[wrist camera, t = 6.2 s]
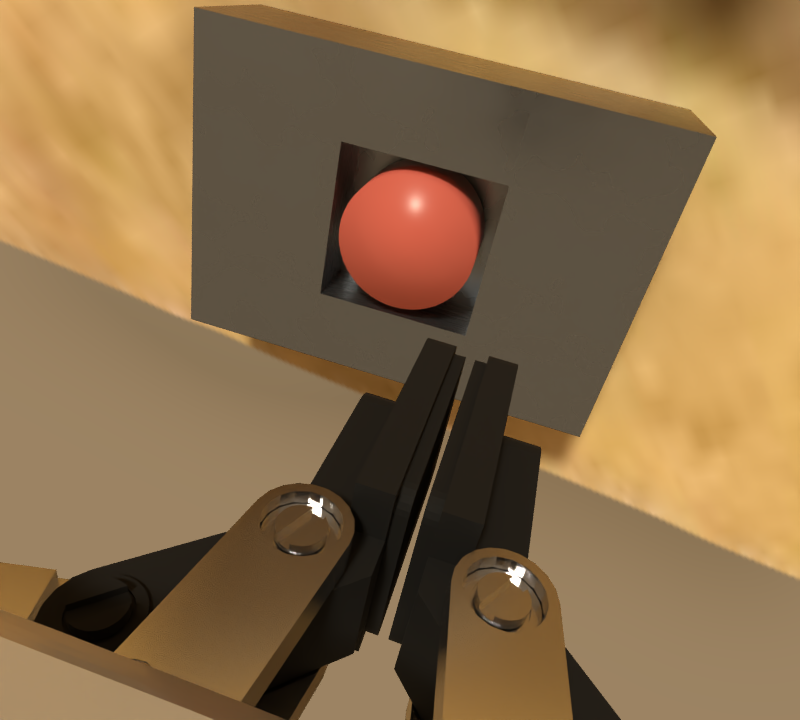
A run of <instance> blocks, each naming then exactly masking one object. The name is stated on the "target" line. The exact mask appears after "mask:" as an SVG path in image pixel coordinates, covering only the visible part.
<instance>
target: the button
mask: <svg viewBox="0 0 800 720" xmlns="http://www.w3.org/2000/svg"><path fill="white" fill-rule="evenodd" d="M484 230H485V218H484V212H483V207H482V204H481V201H480V199H479V197H478V195H477V193H476V191H475V189H474V188H473V186H472V185H471V184H470V183H469V181H468V180H467V179H466V178H465V177H464V176H463V175H462V174H460V173H458V172H455V171H451V170H447V169H443V168H440V167H436V166H432V165H428V164H424V163H421V162H417V161H413V160H409V159H405V160H400V161H398V162H395V163H392V164H391V165H389V166H387V167H385V168H384V169H383V170H381V171H380V172H379V173H378V174H376V175H375V176H374V177H373V178H372V179H371V180H370V181H369V182H368V183H367V184H366V185H364V186H363V187H362V188H361V189H360V190H359V191H358V192H357V193H356V194H355V195H354V196H353V197H352V199H351V200H350V201H349V203H348V205H347V206H346V208H345V210H344V213H343V215H342V218H341V222H340V227H339V246H340V251H341V255H342V258H343V261H344V264H345V266H346V268H347V270H348V272H349V273H350V275H351V277H352V278H353V279H354V281H355V282H356V283H357V284H358V285H359V286H360V287H361V288H362V289H363V290H364V291H365V292H366V293H367V294H369V295H370V296H371V297H373V298H375V299H376V300H378V301H380V302H382V303H384V304H387V305H389V306H392V307H396V308H400V309H409V310H416V309H425V308H429V307H433V306H436V305H438V304H441V303H443V302H445V301H446V300H448V299H450V298H451V297H452V296H453V295H455V294H456V293H457V292H458V291H459V290H460V289H461V288H462V287H463V285H464V284H465V282H466V281H467V279H468V277H469V275H470V274H471V271H472V268H473V266H474V263H475V260H476V258H477V255H478V252H479V250H480V247H481V244H482V241H483V237H484Z"/></svg>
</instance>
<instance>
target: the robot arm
mask: <svg viewBox="0 0 800 720" xmlns="http://www.w3.org/2000/svg"><path fill="white" fill-rule="evenodd" d="M456 349H457V346H455V345H451V344H448V343H444V342H441V341H438V340H434V339H431V338H427V340H426V342H425V344H424V346H423V348H422V350H421V352H420V354H419V356H418V358H417V360H416V362H415V364H414V366H413V368H412V370H411V372H410V374H409V376H408V378H407V380H406V382H405V384H404V386H403V388H402V390H401V392H400V394H399V396H398V398H397V400H396V402H395V401H392V400H389V399H385V398H382V397H379V396H376V395H373V394H369V393H365V394H364V395H363V396H362V397H361V399H360V401H359V403H358V404H357V406H356V408H355V409H354V411H353V413H352V414H351V416H350V418H349V419H348V421H347V423H346V425H345V426H344V428H343V430H342V432H341V433H340V435H339V436H338V438H337V440H336V442H335V443H334V445H333V447H332V448H331V450H330V452H329V453H328V455H327V457H326V459H325V460H324V462H323V464H322V465H321V467H320V469H319V471H318V472H317V474H316V476H315V477H314V479H313V481H312V482H311V484H301V483H296V484H289V485H283V486H280V487H278V488H275V489H273V490H270V491H268V492H267V493H266V494H264V495H263V496H262V497H260V498H259V499H258V500H257V501H256V502H255V503H254V504H253V505H252V506H251V507H250V508H249V509H248V510H247V511H246V513H245V514H244V515H243V516H242V517H241V518H240V519H239V520H238V521H237V522H236V523H235V524H234V525H233V526H232V527H231V528H230V530H229V531H228V532H224V533H221V534H217V535H213V536H210V537H207V538H203V539H199V540H196V541H192V542H189V543H185V544H181V545H178V546H174V547H171V548H167V549H164V550H160V551H157V552H153V553H149V554H146V555H142V556H139V557H135V558H132V559H128V560H124V561H121V562H118V563H114V564H110V565H107V566H103V567H100V568H96V569H92V570H90V571H87V572H85V573H82V574H80V575H78V576H75V577H73V578H71V579H62V578H58V576H57V571H56V570H53V569H46V568H39V567H31V566H23V565H16V564H9V563H1V562H0V720H298V719H299V718H300V716H301V714H302V713H303V711H304V709H305V707H306V706H307V704H308V702H309V701H310V699H311V697H312V696H313V694H314V692H315V691H316V689H317V687H318V685H319V684H320V682H321V680H322V679H323V676H324V674H325V671H326V669H327V666H328V664H330V663H332V662H334V661H337V660H339V659H341V658H344V657H346V656H349V655H351V654H353V653H354V650H356V651H359V648H360V646H361V643H362V640H363V637H364V634H365V632H366V631H367V632H370V633H373V634H375V635H378V634H379V631H380V628H381V626H382V623H383V620H384V617H385V614H386V610H387V608H388V605H389V602H390V599H391V596H392V593H393V591H394V587H395V585H396V582H397V579H398V576H399V573H400V570H401V567H402V564H403V561H404V559H405V556H406V553H407V550H408V547H409V544H410V541H411V538H412V535H413V532H414V529H415V527H416V524H417V521H418V518H419V515H420V512H421V509H422V506H423V503H424V500H425V497H426V494H427V491H428V489H429V486H430V483H431V479H432V476H433V473H434V470H435V466H436V463H437V459H438V456H439V452H440V448H441V445H442V442H443V438H444V434H445V431H446V427H447V424H448V420H449V417H450V413H451V410H452V406H453V402H454V399H455V395H456V392H457V388H458V385H459V381H460V377H461V374H462V370H463V367H464V363H465V359H466V357H464V356H460V355H457V354H455V353H456ZM517 370H518V364H515V363H512V362H508V361H505V360H502V359H498V358H495V357H492V356H489V358H488V361H487V363H484V362H480V361H477V360H475V362H474V365H473V368H472V371H471V374H470V377H469V380H468V383H467V386H466V389H465V392H464V395H463V398H462V401H461V404H460V407H459V410H458V413H457V416H456V419H455V421H454V424H453V427H452V430H451V433H450V436H449V439H448V442H447V445H446V448H445V451H444V454H443V457H442V460H441V463H440V466H439V469H438V472H437V475H436V478H435V481H434V484H433V487H432V490H431V493H430V496H429V499H428V503H427V506H426V509H425V512H424V516H423V519H422V522H421V526H420V529H419V533H418V537H417V540H416V543H415V547H414V550H413V554H412V558H411V562H410V565H409V568H408V572H407V575H406V579H405V582H404V586H403V589H402V593H401V596H400V600H399V603H398V607H397V611H396V614H395V618H394V621H393V625H392V628H391V632H390V636H389V640H392V641H395V642H397V643H400V644H402V645H401V648H400V651H399V655H398V658H397V661H396V664H395V668H394V669H395V671H396V673H397V675H398V677H399V679H400V681H401V682H402V684H403V686H404V688H405V690H406V692H407V694H408V696H409V697H410V699H409V702H408V706H407V710H406V718H405V720H621V719H620V718H619V717H618V715H617V714H616V713H615V712H614V710H613V709H612V708H611V706H610V705H609V704H608V702H607V701H606V700H605V698H604V697H603V696H602V694H601V693H600V692H599V691H598V689H597V688H596V687H595V685H594V684H593V683H592V681H591V680H590V679H589V677H588V676H587V675H586V674H585V672H584V671H583V670H582V668H581V667H580V666H579V664H578V663H577V662H576V661H575V659H574V658H573V657H572V655H571V654H570V653H569V651H568V650H567V649H566V648H565V643H564V634H563V625H562V616H561V608H560V602H559V599H558V595H557V592H556V589H555V587H554V586H553V584H552V582H551V581H550V579H549V577H548V576H547V575H546V574H545V573H544V572H543V571H542V570H541V569H540V568H539V567H538V566H537V565H536V564H535V563H533V562H532V561H530V560H529V559H528V553H529V545H530V537H531V529H532V521H533V513H534V505H535V497H536V488H537V481H538V472H539V465H540V457H541V448H540V447H538V446H535V445H532V444H529V443H526V442H523V441H519V440H516V439H513V438H510V437H507V436H503V435H504V430H505V426H506V421H507V416H508V412H509V407H510V403H511V398H512V393H513V389H514V384H515V379H516V375H517Z"/></svg>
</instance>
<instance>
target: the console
mask: <svg viewBox="0 0 800 720" xmlns="http://www.w3.org/2000/svg"><path fill="white" fill-rule="evenodd" d="M715 140H716V136H715V135H714V134H713V133H712V132H711V131H710V130H709V129H708V128H707V126H706V125H705V124H704V123H703V122H702V121H701V120H700V119H699V118H698V117H697V116H696V115H695V114H694V113H693V112H692V111H691V110H688V109H684V108H680V107H676V106H672V105H668V104H664V103H660V102H656V101H652V100H648V99H643V98H639V97H635V96H631V95H627V94H623V93H619V92H615V91H611V90H607V89H603V88H599V87H595V86H590V85H586V84H582V83H578V82H574V81H570V80H566V79H562V78H558V77H554V76H550V75H546V74H541V73H537V72H533V71H529V70H525V69H521V68H517V67H513V66H509V65H505V64H501V63H497V62H493V61H488V60H484V59H480V58H476V57H472V56H468V55H464V54H460V53H456V52H452V51H448V50H444V49H440V48H435V47H431V46H427V45H423V44H419V43H415V42H411V41H407V40H403V39H399V38H395V37H391V36H386V35H382V34H378V33H374V32H370V31H366V30H362V29H358V28H354V27H350V26H346V25H342V24H338V23H333V22H329V21H325V20H321V19H317V18H313V17H309V16H305V15H301V14H297V13H293V12H289V11H285V10H280V9H276V8H272V7H268V6H264V5H236V6H209V7H194V78H193V185H192V291H191V319H193V320H196V321H200V322H203V323H206V324H209V325H213V326H216V327H219V328H223V329H226V330H229V331H232V332H236V333H239V334H242V335H246V336H249V337H252V338H256V339H259V340H262V341H265V342H269V343H272V344H275V345H279V346H282V347H285V348H288V349H292V350H295V351H298V352H302V353H305V354H308V355H312V356H315V357H318V358H321V359H325V360H328V361H331V362H335V363H338V364H341V365H344V366H348V367H351V368H354V369H358V370H361V371H364V372H368V373H371V374H374V375H377V376H381V377H384V378H387V379H391V380H394V381H397V382H400V383H404V384H405V382H406V380H407V378H408V376H409V374H410V372H411V370H412V368H413V366H414V364H415V362H416V360H417V358H418V356H419V354H420V352H421V350H422V348H423V346H424V344H425V342H426V340H427V338H431V339H434V340H438V341H441V342H444V343H448V344H451V345H455V346H457V349H456V353H455V354H457V355H460V356H464V357H466V359H465V363H464V367H463V370H462V374H461V377H460V381H459V385H458V388H457V392H456V395H455V399H456V400H460V401H462V398H463V395H464V392H465V389H466V386H467V383H468V380H469V377H470V374H471V371H472V368H473V365H474V362H475V360H477V361H480V362H484V363H487V361H488V358H489V356H492V357H495V358H498V359H502V360H505V361H508V362H512V363H515V364H518V370H517V375H516V379H515V384H514V389H513V393H512V398H511V403H510V407H509V412H508V415H509V416H512V417H516V418H519V419H522V420H526V421H529V422H532V423H536V424H539V425H542V426H545V427H549V428H552V429H555V430H559V431H562V432H565V433H568V434H572V435H575V436H578V437H580V435H581V433H582V430H583V428H584V426H585V424H586V422H587V419H588V417H589V415H590V413H591V411H592V408H593V406H594V404H595V402H596V400H597V398H598V395H599V393H600V391H601V389H602V387H603V384H604V382H605V380H606V378H607V376H608V373H609V371H610V369H611V367H612V365H613V363H614V360H615V358H616V356H617V354H618V352H619V349H620V347H621V345H622V343H623V341H624V338H625V336H626V334H627V332H628V330H629V328H630V325H631V323H632V321H633V319H634V317H635V314H636V312H637V310H638V308H639V306H640V303H641V301H642V299H643V297H644V295H645V293H646V290H647V288H648V286H649V284H650V282H651V279H652V277H653V275H654V273H655V271H656V269H657V266H658V264H659V262H660V260H661V258H662V255H663V253H664V251H665V249H666V247H667V244H668V242H669V240H670V238H671V236H672V234H673V231H674V229H675V227H676V225H677V223H678V220H679V218H680V216H681V214H682V212H683V209H684V207H685V205H686V203H687V201H688V199H689V196H690V194H691V192H692V190H693V188H694V185H695V183H696V181H697V179H698V177H699V174H700V172H701V170H702V168H703V166H704V164H705V161H706V159H707V157H708V155H709V153H710V150H711V148H712V146H713V144H714V142H715ZM405 159H409V160H413V161H417V162H421V163H424V164H428V165H432V166H436V167H440V168H443V169H447V170H451V171H455V172H458V173H460V174H462V175H463V176H464V177H465V178H466V179H467V180H468V181H469V183H470V184H471V185H472V186H473V188H474V189H475V191H476V193H477V195H478V197H479V199H480V201H481V204H482V207H483V212H484V218H485V230H484V237H483V241H482V244H481V247H480V250H479V252H478V255H477V258H476V260H475V263H474V266H473V268H472V271H471V274H470V275H469V277H468V279H467V281H466V282H465V284H464V285H463V287H462V288H461V289H460V290H459V291H458V292H457V293H456V294H455V295H453V296H452V297H451V298H450V299H448V300H446V301H445V302H443V303H441V304H438V305H436V306H433V307H429V308H425V309H416V310H409V309H400V308H396V307H392V306H389V305H387V304H384V303H382V302H380V301H378V300H376V299H375V298H373V297H371V296H370V295H369V294H367V293H366V292H365V291H364V290H363V289H362V288H361V287H360V286H359V285H358V284H357V283H356V282H355V281H354V279H353V278H352V277H351V275H350V273H349V272H348V270H347V268H346V266H345V264H344V261H343V258H342V255H341V251H340V246H339V227H340V222H341V218H342V215H343V213H344V210H345V208H346V206H347V205H348V203H349V201H350V200H351V199H352V197H353V196H354V195H355V194H356V193H357V192H358V191H359V190H360V189H361V188H362V187H363V186H364V185H366V184H367V183H368V182H369V181H370V180H371V179H372V178H373V177H374V176H375V175H376V174H378V173H379V172H380V171H381V170H383V169H384V168H385V167H387V166H389V165H391V164H392V163H395V162H398V161H400V160H405Z"/></svg>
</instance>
